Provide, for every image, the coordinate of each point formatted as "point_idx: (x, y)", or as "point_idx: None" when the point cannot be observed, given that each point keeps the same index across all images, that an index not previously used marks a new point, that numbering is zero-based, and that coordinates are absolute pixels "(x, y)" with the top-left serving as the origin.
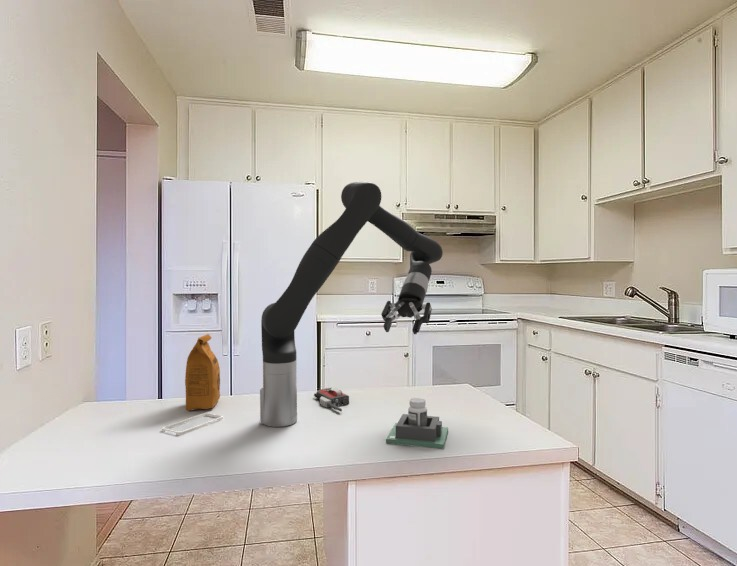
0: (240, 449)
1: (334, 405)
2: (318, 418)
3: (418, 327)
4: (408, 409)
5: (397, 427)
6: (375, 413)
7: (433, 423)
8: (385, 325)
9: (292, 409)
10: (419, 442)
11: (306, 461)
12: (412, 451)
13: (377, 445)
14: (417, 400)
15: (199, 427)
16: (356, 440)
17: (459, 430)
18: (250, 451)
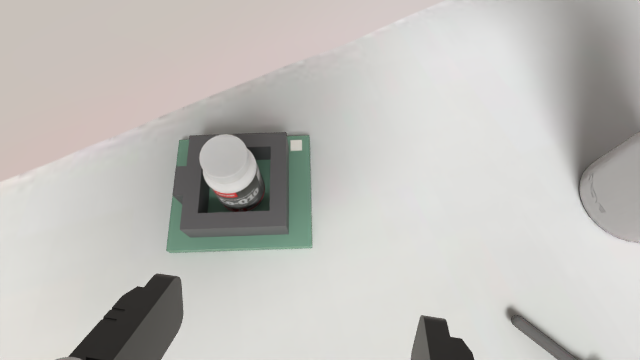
0: (575, 41)
1: (557, 350)
2: (547, 255)
3: (117, 302)
4: (254, 159)
5: (281, 134)
6: (404, 354)
7: (194, 173)
8: (446, 335)
9: (605, 170)
10: None
11: (425, 30)
12: (246, 115)
13: (324, 124)
14: (222, 150)
15: None
16: (377, 137)
17: (139, 268)
18: (550, 38)
